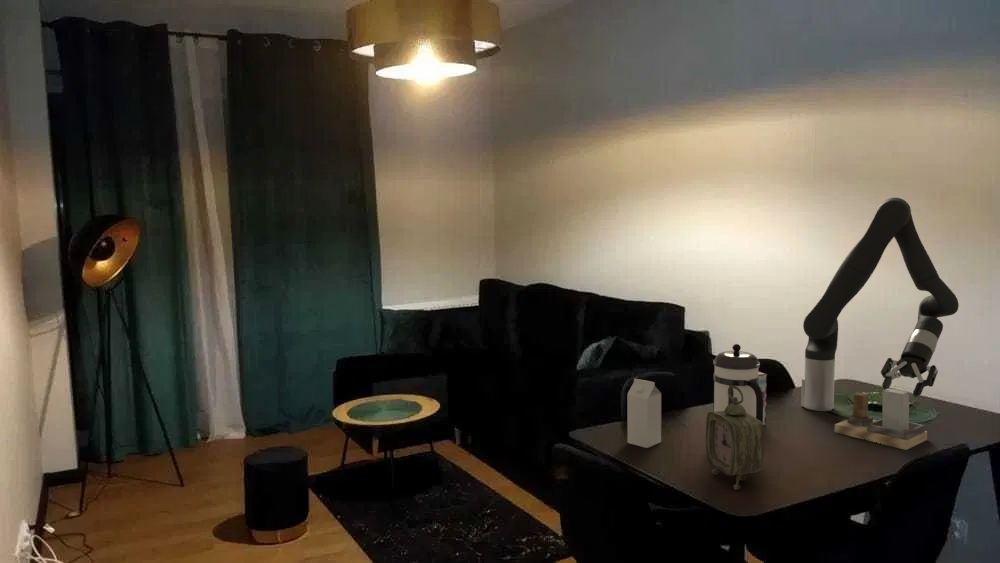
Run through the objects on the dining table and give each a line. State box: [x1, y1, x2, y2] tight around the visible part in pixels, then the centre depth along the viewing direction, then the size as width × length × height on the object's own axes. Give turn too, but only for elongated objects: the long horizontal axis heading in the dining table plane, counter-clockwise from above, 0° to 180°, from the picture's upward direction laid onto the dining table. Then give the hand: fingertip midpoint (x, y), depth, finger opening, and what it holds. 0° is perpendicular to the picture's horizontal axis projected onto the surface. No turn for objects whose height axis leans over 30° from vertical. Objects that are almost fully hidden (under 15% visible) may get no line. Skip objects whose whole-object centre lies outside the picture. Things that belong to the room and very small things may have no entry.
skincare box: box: [881, 387, 910, 432], centre depth 221 cm, size 6×4×12 cm
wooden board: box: [834, 392, 928, 451], centre depth 224 cm, size 21×13×12 cm, turn 38°
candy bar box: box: [758, 370, 768, 426], centre depth 241 cm, size 11×5×16 cm, turn 16°
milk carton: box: [626, 378, 662, 449], centre depth 223 cm, size 7×7×19 cm
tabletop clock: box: [705, 386, 767, 491], centre depth 192 cm, size 14×9×25 cm, turn 13°
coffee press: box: [712, 343, 763, 423], centre depth 217 cm, size 17×16×30 cm
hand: (899, 392), depth 221 cm, fingers open, 8 cm apart
